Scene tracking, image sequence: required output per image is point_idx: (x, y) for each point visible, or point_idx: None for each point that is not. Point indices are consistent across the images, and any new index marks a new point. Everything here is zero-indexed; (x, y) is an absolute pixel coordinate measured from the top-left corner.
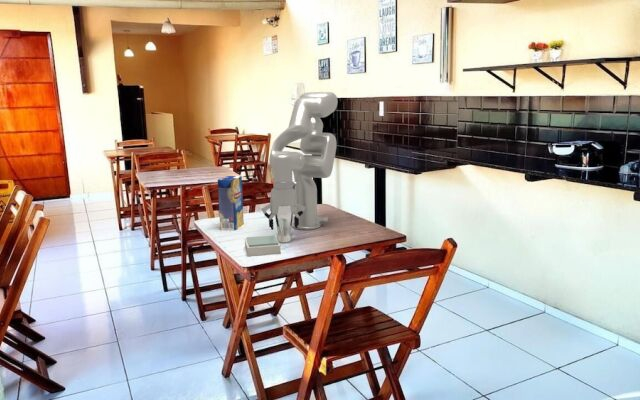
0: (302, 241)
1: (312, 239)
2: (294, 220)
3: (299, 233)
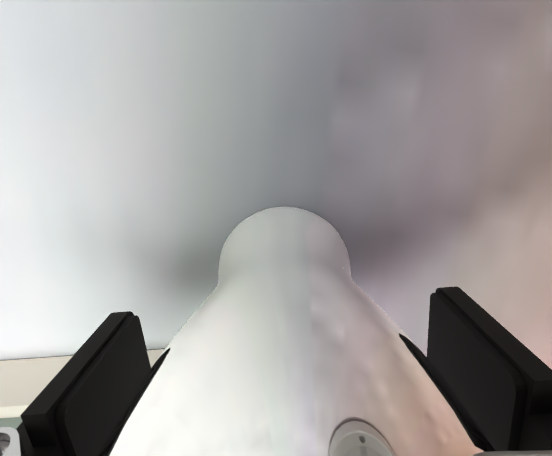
0: (428, 300)
1: (525, 260)
2: (476, 355)
3: (470, 19)
